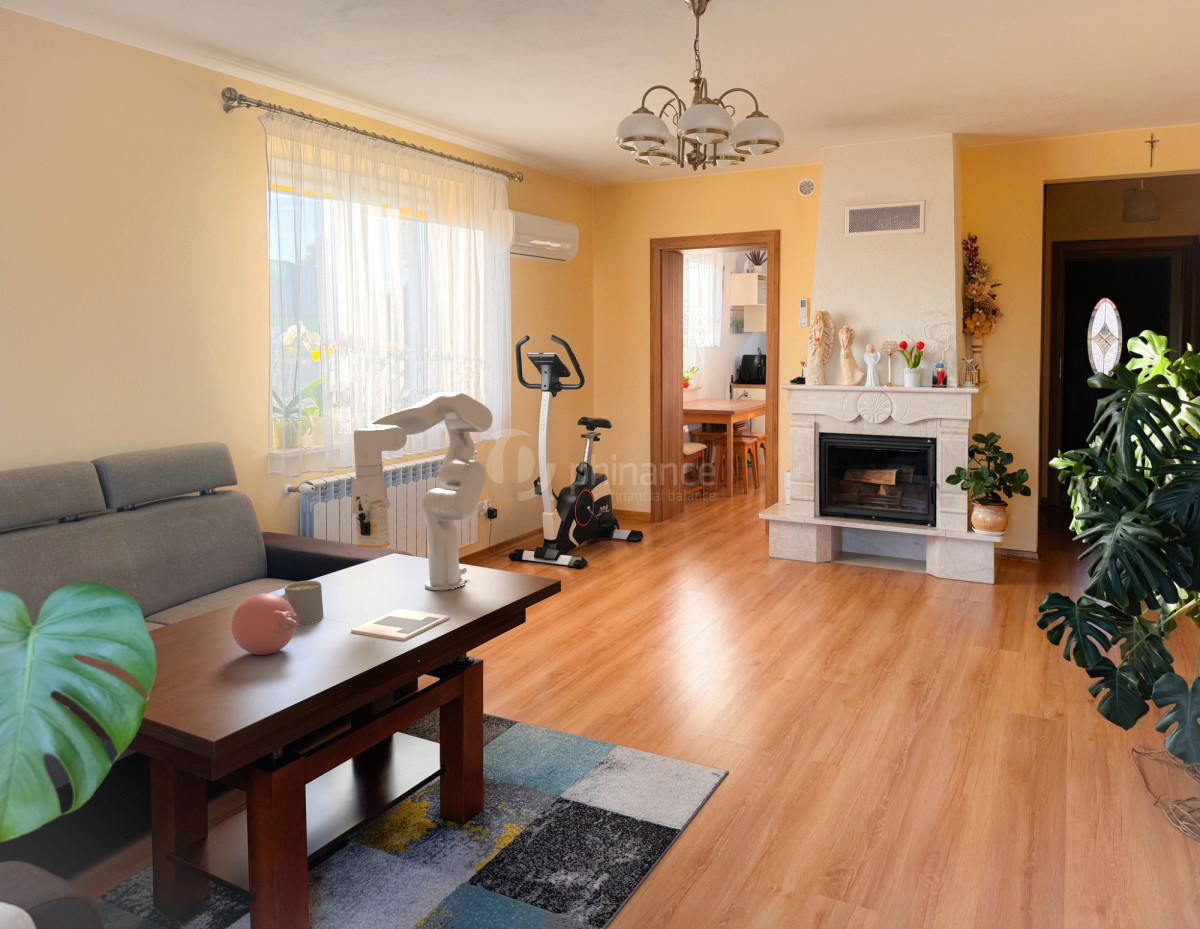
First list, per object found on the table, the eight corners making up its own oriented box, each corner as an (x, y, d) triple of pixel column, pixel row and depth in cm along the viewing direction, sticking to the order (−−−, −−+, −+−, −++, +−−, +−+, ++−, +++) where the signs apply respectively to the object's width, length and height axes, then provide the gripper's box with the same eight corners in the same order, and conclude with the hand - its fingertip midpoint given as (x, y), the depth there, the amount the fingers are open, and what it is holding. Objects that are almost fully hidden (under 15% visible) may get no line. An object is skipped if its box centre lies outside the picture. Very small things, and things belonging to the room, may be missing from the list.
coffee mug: (320, 611, 255) (317, 578, 253) (326, 620, 246) (323, 586, 245) (272, 619, 249) (269, 585, 247) (276, 628, 240) (273, 593, 238)
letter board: (398, 611, 253) (398, 608, 253) (449, 618, 245) (449, 615, 245) (351, 632, 235) (350, 629, 235) (404, 640, 227) (403, 637, 227)
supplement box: (390, 545, 252) (387, 500, 250) (380, 548, 247) (378, 503, 246) (366, 543, 255) (364, 499, 253) (356, 547, 250) (353, 502, 249)
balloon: (269, 671, 207) (264, 609, 205) (221, 656, 219) (216, 597, 217) (322, 652, 220) (318, 593, 218) (274, 639, 231) (269, 583, 229)
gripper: (379, 466, 257) (383, 526, 260) (337, 474, 242) (341, 538, 245) (399, 467, 254) (402, 528, 256) (357, 475, 239) (361, 540, 241)
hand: (372, 532), depth 250 cm, fingers closed on supplement box, 5 cm apart
